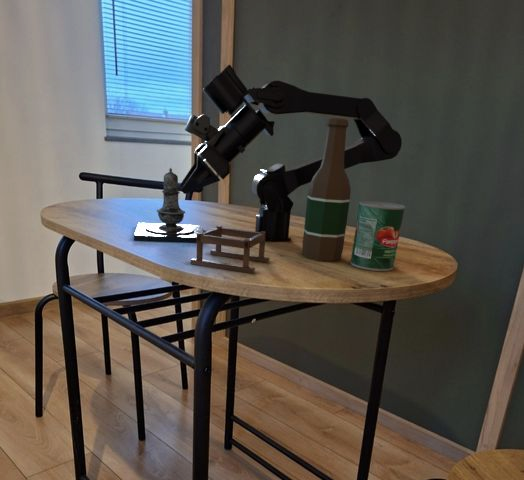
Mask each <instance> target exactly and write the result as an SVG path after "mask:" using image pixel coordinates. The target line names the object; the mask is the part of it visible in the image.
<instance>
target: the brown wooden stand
mask: <svg viewBox="0 0 524 480" xmlns="http://www.w3.org/2000/svg"><path fill="white" fill-rule="evenodd" d="M225 236H227V237H225ZM231 237H232V238H231ZM233 237H235V238H233ZM265 237H266V232H263V231H261V232H255V230H245V229H237V228H230V227H223V225H217V226H216V227H213V228H211V229H208V230H206V231H203V233H197V243H196V258H193V257H192V258H191V259H190V265H195V266H201V267H207V268H215V269H221V270H227V271H233V272H238V273H239V272H240V273H246V274H247V273H248V274H255V272H256V271H255V269H256V267H253V266H250V261H251V262H252V261H253V262H259V263H265V264H268V263H270V257H268V256H265V250H266V249H265V248H266V241H265ZM238 238H241V239H238ZM204 244H210V245H215V249H213V248H212V249H211V250H210V253H209V254H210V255H211V256H217V257H225V258H232V259H238V260H242V265H240V264H233V263H227V262H220V261H215V260H214V261H213V260H208V259H203V258H204V257H203V255H204V253H203V252H204ZM258 244H259V245H258ZM257 245H258V255H255V254H251V253H250V252H251V248H253V247H255V246H257ZM222 246H223V247H231V248H238V249H243V253H240V252H235V251H234V252H233V251H227V250H222Z"/></svg>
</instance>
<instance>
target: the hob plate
mask: <svg viewBox="0 0 524 480" xmlns="http://www.w3.org/2000/svg"><path fill="white" fill-rule="evenodd" d="M164 224H165V223H152V222H151V223H149V222H138V223H137V225H136V227H135V230H134V234H133V241H140V242H141V241H142V242H166V243H167V242H170V243H196V244H197V233H203V232H204V228H203V226H202V225H199V224H198V225H197V224H179V225H180V226H182V227H183V228H184V230H181V231H166V230H161V229H159V228H158V227H159V226H161V225H164ZM176 225H178V224H176Z"/></svg>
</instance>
